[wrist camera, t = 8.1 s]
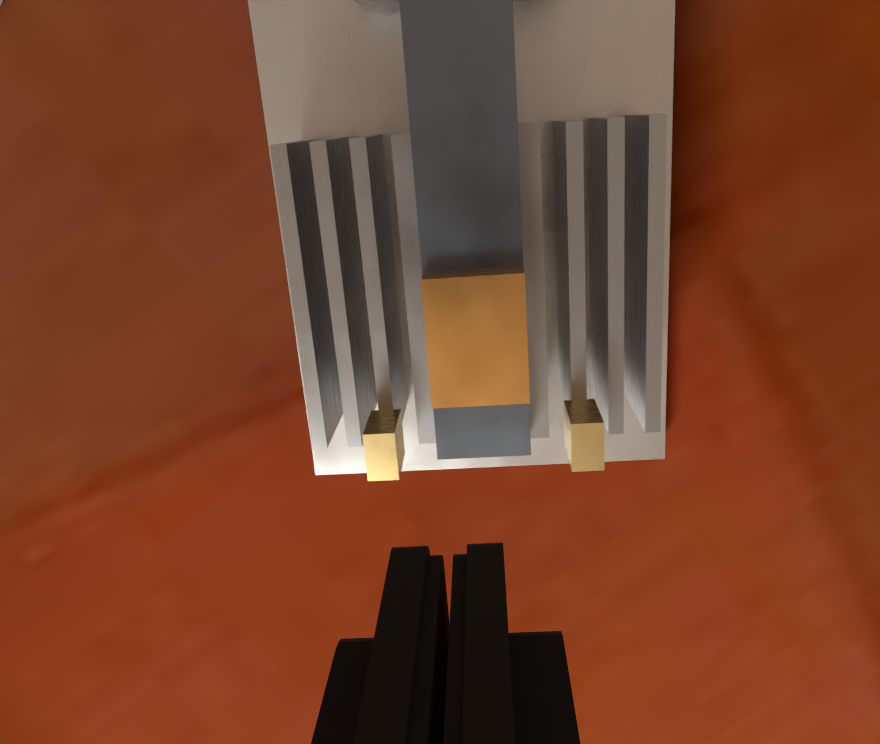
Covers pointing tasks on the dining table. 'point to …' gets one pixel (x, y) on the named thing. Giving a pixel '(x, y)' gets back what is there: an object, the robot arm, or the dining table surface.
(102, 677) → the dining table surface
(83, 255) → the dining table surface
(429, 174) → the strap
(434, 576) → the robot arm
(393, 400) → the heatsink base
